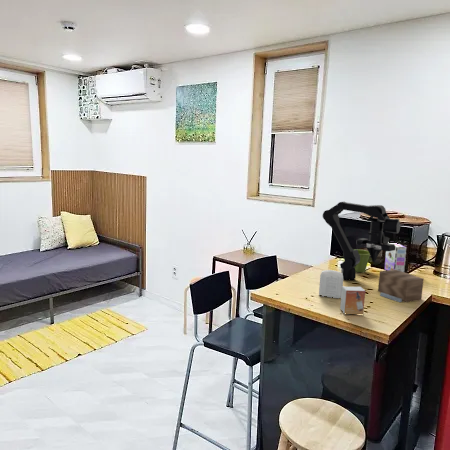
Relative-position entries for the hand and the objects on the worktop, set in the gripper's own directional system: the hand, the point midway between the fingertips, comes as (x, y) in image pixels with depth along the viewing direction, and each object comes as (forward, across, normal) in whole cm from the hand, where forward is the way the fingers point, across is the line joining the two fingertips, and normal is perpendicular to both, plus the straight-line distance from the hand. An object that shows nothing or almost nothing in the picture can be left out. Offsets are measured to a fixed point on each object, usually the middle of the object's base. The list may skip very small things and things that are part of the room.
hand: (373, 261), depth 195 cm
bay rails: (+12, -17, +4) cm, 21 cm away
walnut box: (+12, -17, +3) cm, 21 cm away
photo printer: (+12, -2, +33) cm, 35 cm away
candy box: (+12, +7, -29) cm, 32 cm away
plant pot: (+12, +19, -14) cm, 27 cm away
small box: (+12, -19, +40) cm, 46 cm away
